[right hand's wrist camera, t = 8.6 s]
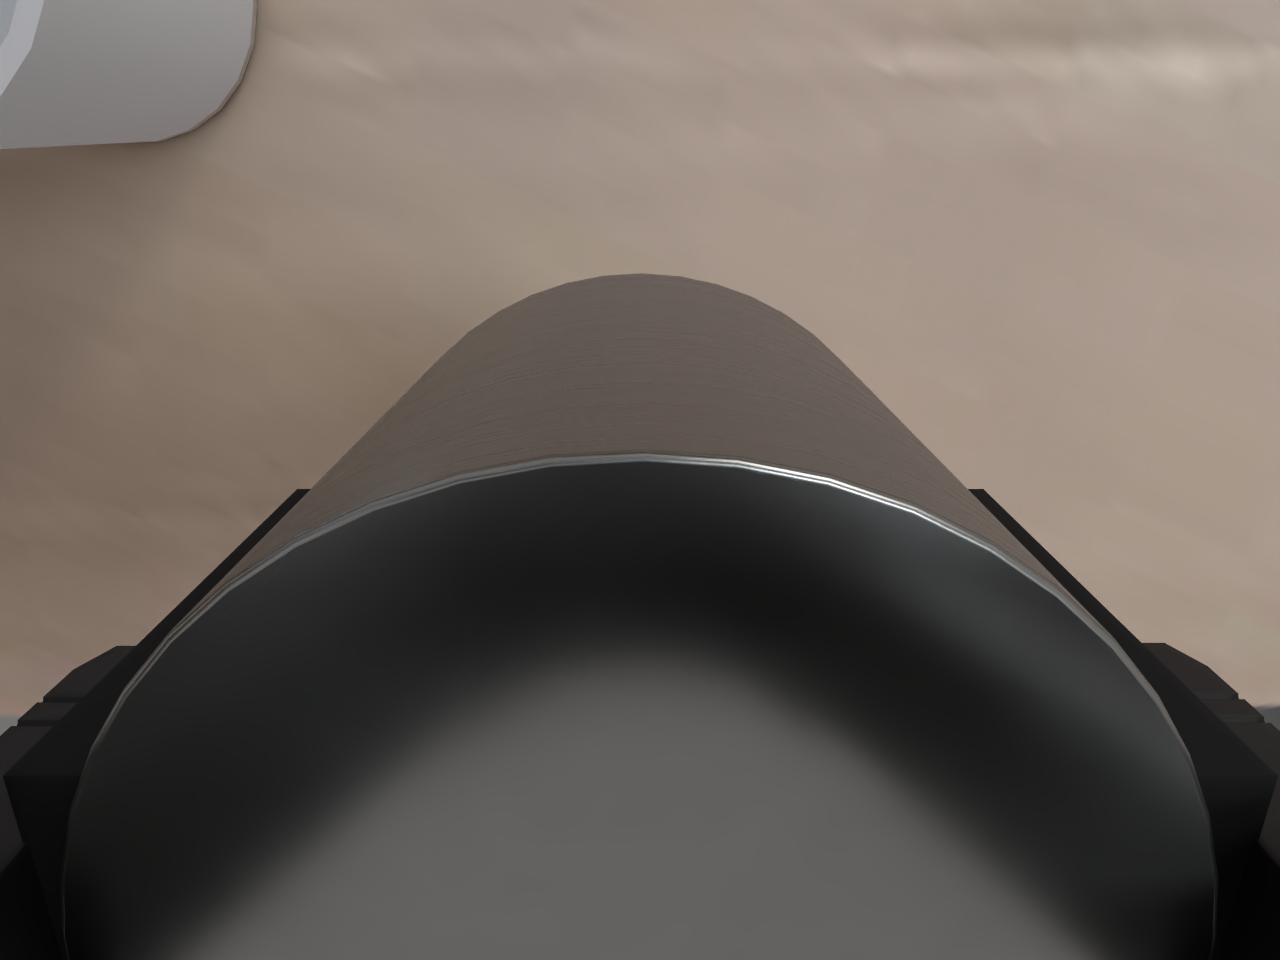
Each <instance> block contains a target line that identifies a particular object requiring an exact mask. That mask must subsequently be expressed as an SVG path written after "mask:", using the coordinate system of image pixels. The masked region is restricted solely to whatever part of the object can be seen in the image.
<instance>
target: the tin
mask: <svg viewBox="0 0 1280 960" xmlns="http://www.w3.org/2000/svg"><path fill="white" fill-rule="evenodd" d="M1218 882H1219V879H1218V871H1217V864H1216V856H1215V849H1214V842H1213V834H1212V827H1211V819H1210V815H1209V812H1208V809H1207V806H1206V803H1205V799H1204V796H1203V793H1202V790H1201V787H1200V784H1199V781H1198V778H1197V775H1196V772H1195V769H1194V766H1193V762H1192V759H1191V756H1190V754H1189V752H1188V750H1187V748H1186V746H1185V744H1184V742H1183V740H1182V739H1181V737H1180V735H1179V733H1178V731H1177V729H1176V727H1175V725H1174V724H1173V722H1172V720H1171V718H1170V716H1169V714H1168V712H1167V710H1166V709H1165V707H1164V705H1163V703H1162V701H1161V699H1160V697H1159V695H1158V694H1157V693H1156V691H1155V690H1154V689H1153V688H1152V686H1151V685H1150V684H1149V682H1148V681H1147V680H1146V679H1145V677H1144V676H1143V675H1142V673H1141V672H1140V671H1139V670H1138V668H1137V667H1136V666H1135V664H1134V663H1133V662H1132V660H1131V659H1130V658H1129V657H1128V655H1127V654H1126V653H1125V651H1124V650H1123V649H1122V648H1121V646H1120V645H1119V644H1118V642H1117V641H1116V640H1115V639H1114V638H1113V636H1112V635H1111V634H1110V633H1109V632H1108V631H1107V630H1106V629H1105V628H1104V627H1103V626H1102V625H1101V624H1100V623H1099V622H1098V621H1097V620H1096V619H1095V618H1094V617H1093V616H1092V615H1091V614H1090V613H1089V612H1088V611H1087V610H1086V609H1085V608H1084V607H1083V606H1082V605H1081V604H1080V603H1079V602H1078V601H1077V600H1076V599H1075V598H1074V597H1073V596H1072V595H1071V594H1070V593H1069V592H1068V591H1067V590H1066V589H1065V588H1064V587H1063V586H1062V585H1061V584H1060V583H1059V582H1058V581H1057V580H1056V579H1055V578H1054V576H1053V575H1052V574H1051V573H1050V572H1049V571H1048V570H1047V569H1046V568H1045V567H1044V566H1043V565H1042V564H1041V563H1040V562H1039V561H1038V560H1037V559H1036V558H1035V557H1034V556H1033V555H1032V554H1031V553H1030V552H1029V551H1028V550H1027V549H1026V548H1025V547H1024V546H1023V545H1022V544H1021V543H1020V542H1019V541H1018V540H1017V539H1016V538H1015V537H1014V536H1013V535H1012V534H1011V533H1010V532H1009V531H1008V530H1007V529H1006V528H1005V527H1004V526H1003V525H1002V524H1001V523H1000V522H999V521H998V520H997V519H996V517H995V516H994V515H993V514H992V513H991V512H990V511H989V510H988V509H987V508H986V507H985V506H984V505H983V504H982V503H981V502H980V501H979V500H978V499H977V498H976V497H975V496H974V495H973V494H972V493H971V492H970V491H969V490H968V489H967V488H966V487H965V486H964V485H963V484H962V483H961V482H960V481H959V480H958V479H957V478H956V477H955V476H954V475H953V474H952V473H951V472H950V471H949V470H948V469H947V468H946V467H945V466H944V465H943V464H942V463H941V462H940V461H939V460H938V459H937V457H936V456H935V455H934V454H933V453H932V452H931V451H930V450H929V449H928V448H927V447H926V446H925V445H924V444H923V443H922V442H921V441H920V440H919V439H918V438H917V437H916V436H915V435H914V434H913V433H912V432H911V431H910V430H909V429H908V428H907V427H906V426H905V425H904V424H903V423H902V422H901V421H900V420H899V419H898V418H897V417H896V416H895V415H894V414H893V413H892V412H891V411H890V410H889V409H888V408H887V407H886V406H885V405H884V404H883V403H882V402H881V401H880V400H879V398H878V397H877V396H876V395H875V394H874V393H873V392H872V391H871V390H870V389H869V388H868V387H867V386H866V385H865V384H864V383H863V382H862V381H861V380H860V379H859V378H858V377H857V376H856V375H855V374H854V373H853V372H852V371H851V370H850V369H849V368H848V367H847V366H846V365H845V364H844V363H843V362H842V361H841V360H840V359H839V358H838V357H837V356H836V355H835V354H834V353H833V352H832V351H831V350H830V349H829V348H827V347H826V346H825V345H824V344H823V343H822V342H821V341H820V340H819V339H818V338H817V337H816V336H815V335H814V334H812V333H811V332H809V331H808V330H807V329H805V328H804V327H802V326H801V325H800V324H798V323H797V322H795V321H794V320H793V319H791V318H790V317H788V316H787V315H785V314H784V313H782V312H780V311H778V310H776V309H774V308H772V307H771V306H769V305H767V304H765V303H763V302H761V301H759V300H757V299H755V298H753V297H751V296H748V295H746V294H743V293H740V292H737V291H734V290H731V289H729V288H726V287H723V286H720V285H717V284H713V283H709V282H704V281H699V280H694V279H690V278H685V277H680V276H668V275H655V274H626V275H609V276H600V277H595V278H590V279H585V280H580V281H575V282H570V283H566V284H563V285H560V286H557V287H554V288H551V289H548V290H545V291H542V292H539V293H536V294H533V295H531V296H529V297H527V298H525V299H523V300H521V301H519V302H517V303H515V304H513V305H511V306H509V307H507V308H505V309H503V310H501V311H499V312H497V313H496V314H494V315H493V316H491V317H490V318H488V319H487V320H485V321H484V322H483V323H481V324H480V325H478V326H477V327H475V328H474V329H472V330H471V331H469V332H468V333H467V334H466V335H465V336H464V337H463V338H462V339H461V340H459V341H458V342H457V343H456V344H455V345H454V346H453V347H452V348H451V349H450V350H449V351H447V352H446V353H445V354H444V355H443V356H442V357H441V358H440V359H439V360H438V361H437V362H436V363H435V364H434V365H433V366H432V367H431V368H430V369H429V370H428V371H427V372H426V373H425V374H424V375H423V376H422V377H421V378H420V379H419V380H418V381H417V382H416V383H415V384H414V385H413V386H412V387H411V388H410V389H409V390H408V391H407V392H406V393H405V394H404V395H403V396H402V397H401V398H400V399H399V400H398V402H397V403H396V404H395V405H394V406H393V407H392V408H391V409H390V410H389V411H388V412H387V413H386V414H385V415H384V416H383V417H382V418H381V419H380V420H379V421H378V422H377V423H376V424H375V425H374V426H373V427H372V428H371V429H370V430H369V431H368V432H367V433H366V434H365V435H364V436H363V437H362V438H361V439H360V440H359V441H358V442H357V443H356V444H355V445H354V446H353V447H352V448H351V449H350V450H349V451H348V452H347V453H346V454H345V455H344V456H343V457H342V458H341V459H340V460H339V461H338V462H337V463H336V464H335V465H334V466H333V467H332V468H331V469H330V470H329V471H328V472H327V473H326V474H325V475H324V476H323V477H322V478H321V479H320V480H319V481H318V482H317V483H316V484H315V485H314V486H313V487H312V488H311V489H310V490H309V492H308V493H307V494H306V495H305V496H304V497H303V498H302V499H301V500H300V501H299V502H298V503H297V504H296V505H295V506H294V507H293V508H292V509H291V510H290V511H289V512H288V513H287V514H286V515H285V516H284V517H283V518H282V519H281V520H280V521H279V522H278V523H277V524H276V525H275V526H274V527H273V528H272V529H271V530H270V531H269V532H268V533H267V534H266V535H265V536H264V537H263V538H262V539H261V540H260V541H259V542H258V543H257V544H256V545H255V546H254V547H253V548H252V549H251V550H250V551H249V552H248V553H247V554H246V555H245V556H244V557H243V558H242V559H241V560H240V561H239V562H238V563H237V564H236V565H235V566H234V567H233V568H232V569H231V570H230V571H229V572H228V573H227V574H226V575H225V576H224V577H223V578H222V579H221V580H220V582H219V583H218V584H217V585H216V586H215V587H214V588H213V589H212V590H211V591H210V592H209V593H208V594H207V595H206V596H205V597H204V598H203V599H202V600H201V601H200V602H199V603H198V604H197V605H196V606H195V607H194V608H193V609H192V610H191V611H190V612H189V613H188V614H187V615H186V616H185V617H184V618H183V619H182V620H181V621H180V622H179V623H178V624H177V625H176V626H175V627H174V628H173V629H172V630H171V631H170V632H169V633H168V634H167V636H166V637H165V638H164V639H163V641H162V642H161V643H160V644H159V646H158V647H157V648H156V649H155V651H154V652H153V653H152V654H151V656H150V657H149V658H148V659H147V661H146V662H145V663H144V664H143V666H142V667H141V668H140V669H139V671H138V672H137V673H136V674H135V676H134V677H133V678H132V679H131V681H130V682H129V683H128V684H127V686H126V687H125V688H124V690H123V691H122V693H121V695H120V697H119V699H118V700H117V702H116V704H115V706H114V707H113V709H112V711H111V713H110V715H109V716H108V718H107V720H106V722H105V724H104V725H103V727H102V729H101V731H100V733H99V734H98V736H97V738H96V740H95V742H94V743H93V745H92V747H91V750H90V752H89V755H88V758H87V761H86V764H85V767H84V770H83V773H82V776H81V779H80V781H79V784H78V787H77V790H76V793H75V796H74V799H73V802H72V805H71V808H70V812H69V818H68V824H67V831H66V837H65V844H64V850H63V857H62V863H61V870H60V892H61V931H62V936H63V941H64V946H65V951H66V956H67V960H1211V959H1212V954H1213V950H1214V945H1215V941H1216V928H1217V905H1218Z"/></svg>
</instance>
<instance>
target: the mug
mask: <svg viewBox="0 0 1280 960" xmlns="http://www.w3.org/2000/svg"><path fill="white" fill-rule="evenodd" d="M256 17H257V0H0V149H16V148H35V147H54V146H74V145H93V144H112V143H131V142H154V141H164V140H166V139H169V138H172V137H175V136H178V135H181V134H184V133H187V132H190V131H193V130H195V129H196V128H197V127H199V126H200V125H201V124H203V123H204V122H205V121H207V120H208V119H209V118H211V117H212V116H213V115H215V114H216V113H217V112H219V111H220V110H221V109H222V108H223V106H224V105H225V104H226V102H227V101H228V100H229V98H230V97H231V95H232V94H233V93H234V91H235V90H236V88H237V87H238V86H239V84H240V83H241V81H242V79H243V76H244V73H245V70H246V68H247V65H248V62H249V59H250V56H251V53H252V50H253V48H254V42H255V29H256Z"/></svg>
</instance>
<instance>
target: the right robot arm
mask: <svg viewBox="0 0 1280 960" xmlns="http://www.w3.org/2000/svg"><path fill="white" fill-rule="evenodd" d="M309 490H310V489H297V490H296V491H295V492H294V493H293V494H292V495H291V496H290V497H289V498H288V499H287V500H286V501H285V502H284V503H283V504H282V505H281V506H280V507H278V508H277V509H276V510H275V511H274V512H273V513H272V514H271V515H270V516H269V517H268V518H267V519H266V520H265V521H264V522H263V523H262V524H261V525H260V526H259V527H258V528H257V529H256V530H255V531H254V532H253V533H252V534H251V535H250V536H249V537H248V538H247V539H246V540H245V541H244V542H242V543H241V544H240V545H239V546H238V547H237V548H236V549H235V550H234V551H233V552H232V553H231V554H230V555H229V556H228V557H227V558H226V559H225V560H224V561H223V562H222V563H221V564H220V565H219V566H218V567H217V568H216V569H215V570H214V571H213V572H212V573H211V574H210V575H209V576H208V577H206V578H205V579H204V580H203V581H202V582H201V583H200V584H199V585H198V586H197V587H196V588H195V589H194V590H193V591H192V592H191V593H190V594H189V595H188V596H187V597H186V598H185V599H184V600H183V601H182V602H181V603H180V604H179V605H178V606H177V607H176V608H175V609H174V610H173V611H172V612H170V613H169V614H168V615H167V616H166V617H165V618H164V619H163V620H162V621H161V622H160V623H159V624H158V625H157V626H156V627H155V628H154V629H153V630H152V631H151V632H150V633H149V634H148V635H147V636H146V637H145V638H144V639H143V640H142V641H141V642H140V643H139V644H138V645H137V646H116V647H114V648H112V649H110V650H109V651H107V652H105V653H103V654H101V655H99V656H98V657H96V658H94V659H92V660H90V661H88V662H87V663H85V664H83V665H81V666H79V667H77V668H75V669H74V670H73V671H71V672H70V673H69V674H68V675H67V676H66V677H65V678H64V679H63V680H62V681H60V682H59V683H58V684H57V685H56V686H55V687H54V688H53V689H52V690H51V691H49V692H48V693H47V694H46V695H45V696H44V697H43V702H42V703H36V704H35V705H34V706H33V707H32V708H31V709H30V710H28V711H27V712H26V713H25V714H24V715H23V716H22V717H21V718H20V719H19V720H18V724H17V726H11V727H10V728H9V729H8V730H6V731H5V732H4V733H3V734H2V735H1V736H0V960H67V956H66V951H65V946H64V941H63V936H62V931H61V892H60V870H61V863H62V857H63V850H64V844H65V837H66V831H67V824H68V818H69V812H70V808H71V805H72V802H73V799H74V796H75V793H76V790H77V787H78V784H79V781H80V779H81V776H82V773H83V770H84V767H85V764H86V761H87V758H88V755H89V752H90V750H91V747H92V745H93V743H94V742H95V740H96V738H97V736H98V734H99V733H100V731H101V729H102V727H103V725H104V724H105V722H106V720H107V718H108V716H109V715H110V713H111V711H112V709H113V707H114V706H115V704H116V702H117V700H118V699H119V697H120V695H121V693H122V691H123V690H124V688H125V687H126V686H127V684H128V683H129V682H130V681H131V679H132V678H133V677H134V676H135V674H136V673H137V672H138V671H139V669H140V668H141V667H142V666H143V664H144V663H145V662H146V661H147V659H148V658H149V657H150V656H151V654H152V653H153V652H154V651H155V649H156V648H157V647H158V646H159V644H160V643H161V642H162V641H163V639H164V638H165V637H166V636H167V634H168V633H169V632H170V631H171V630H172V629H173V628H174V627H175V626H176V625H177V624H178V623H179V622H180V621H181V620H182V619H183V618H184V617H185V616H186V615H187V614H188V613H189V612H190V611H191V610H192V609H193V608H194V607H195V606H196V605H197V604H198V603H199V602H200V601H201V600H202V599H203V598H204V597H205V596H206V595H207V594H208V593H209V592H210V591H211V590H212V589H213V588H214V587H215V586H216V585H217V584H218V583H219V582H220V580H221V579H222V578H223V577H224V576H225V575H226V574H227V573H228V572H229V571H230V570H231V569H232V568H233V567H234V566H235V565H236V564H237V563H238V562H239V561H240V560H241V559H242V558H243V557H244V556H245V555H246V554H247V553H248V552H249V551H250V550H251V549H252V548H253V547H254V546H255V545H256V544H257V543H258V542H259V541H260V540H261V539H262V538H263V537H264V536H265V535H266V534H267V533H268V532H269V531H270V530H271V529H272V528H273V527H274V526H275V525H276V524H277V523H278V522H279V521H280V520H281V519H282V518H283V517H284V516H285V515H286V514H287V513H288V512H289V511H290V510H291V509H292V508H293V507H294V506H295V505H296V504H297V503H298V502H299V501H300V500H301V499H302V498H303V497H304V496H305V495H306V494H307V493H308V492H309ZM968 490H969V491H970V492H971V493H972V494H973V495H974V496H975V497H976V498H977V499H978V500H979V501H980V502H981V503H982V504H983V505H984V506H985V507H986V508H987V509H988V510H989V511H990V512H991V513H992V514H993V515H994V516H995V517H996V519H997V520H998V521H999V522H1000V523H1001V524H1002V525H1003V526H1004V527H1005V528H1006V529H1007V530H1008V531H1009V532H1010V533H1011V534H1012V535H1013V536H1014V537H1015V538H1016V539H1017V540H1018V541H1019V542H1020V543H1021V544H1022V545H1023V546H1024V547H1025V548H1026V549H1027V550H1028V551H1029V552H1030V553H1031V554H1032V555H1033V556H1034V557H1035V558H1036V559H1037V560H1038V561H1039V562H1040V563H1041V564H1042V565H1043V566H1044V567H1045V568H1046V569H1047V570H1048V571H1049V572H1050V573H1051V574H1052V575H1053V576H1054V578H1055V579H1056V580H1057V581H1058V582H1059V583H1060V584H1061V585H1062V586H1063V587H1064V588H1065V589H1066V590H1067V591H1068V592H1069V593H1070V594H1071V595H1072V596H1073V597H1074V598H1075V599H1076V600H1077V601H1078V602H1079V603H1080V604H1081V605H1082V606H1083V607H1084V608H1085V609H1086V610H1087V611H1088V612H1089V613H1090V614H1091V615H1092V616H1093V617H1094V618H1095V619H1096V620H1097V621H1098V622H1099V623H1100V624H1101V625H1102V626H1103V627H1104V628H1105V629H1106V630H1107V631H1108V632H1109V633H1110V634H1111V635H1112V636H1113V638H1114V639H1115V640H1116V641H1117V642H1118V644H1119V645H1120V646H1121V648H1122V649H1123V650H1124V651H1125V653H1126V654H1127V655H1128V657H1129V658H1130V659H1131V660H1132V662H1133V663H1134V664H1135V666H1136V667H1137V668H1138V670H1139V671H1140V672H1141V673H1142V675H1143V676H1144V677H1145V679H1146V680H1147V681H1148V682H1149V684H1150V685H1151V686H1152V688H1153V689H1154V690H1155V691H1156V693H1157V694H1158V695H1159V697H1160V699H1161V701H1162V703H1163V705H1164V707H1165V709H1166V710H1167V712H1168V714H1169V716H1170V718H1171V720H1172V722H1173V724H1174V725H1175V727H1176V729H1177V731H1178V733H1179V735H1180V737H1181V739H1182V740H1183V742H1184V744H1185V746H1186V748H1187V750H1188V752H1189V754H1190V756H1191V759H1192V762H1193V766H1194V769H1195V772H1196V775H1197V778H1198V781H1199V784H1200V787H1201V790H1202V793H1203V796H1204V799H1205V803H1206V806H1207V809H1208V812H1209V815H1210V819H1211V827H1212V834H1213V842H1214V849H1215V856H1216V864H1217V871H1218V879H1219V882H1218V905H1217V928H1216V941H1215V945H1214V950H1213V954H1212V959H1211V960H1280V731H1279V730H1278V729H1277V728H1276V727H1275V726H1273V725H1272V724H1271V723H1265V722H1264V717H1263V716H1262V715H1261V714H1260V713H1259V712H1258V711H1257V710H1256V709H1255V708H1253V707H1252V706H1251V705H1250V704H1249V703H1248V702H1247V701H1246V700H1245V699H1239V697H1238V693H1237V692H1236V691H1235V690H1233V689H1232V688H1231V687H1230V686H1229V685H1228V684H1227V683H1226V682H1225V681H1223V680H1222V679H1221V678H1220V677H1219V676H1218V675H1217V674H1216V673H1215V672H1213V671H1212V670H1211V669H1210V668H1209V667H1208V666H1206V665H1204V664H1202V663H1201V662H1199V661H1197V660H1195V659H1193V658H1191V657H1189V656H1188V655H1186V654H1184V653H1182V652H1180V651H1178V650H1177V649H1175V648H1173V647H1171V646H1169V645H1167V644H1165V643H1141V642H1140V641H1139V640H1138V639H1137V638H1136V637H1135V636H1134V635H1133V634H1132V633H1131V632H1130V631H1129V630H1128V629H1127V628H1126V627H1125V626H1124V625H1123V624H1121V623H1120V622H1119V621H1118V620H1117V619H1116V618H1115V617H1114V616H1113V615H1112V614H1111V613H1110V612H1109V611H1108V610H1107V609H1106V608H1105V607H1104V606H1103V605H1102V604H1101V603H1100V602H1099V601H1098V600H1097V599H1096V598H1095V597H1094V596H1093V595H1092V594H1091V593H1090V592H1089V591H1088V590H1086V589H1085V588H1084V587H1083V586H1082V585H1081V584H1080V583H1079V582H1078V581H1077V580H1076V579H1075V578H1074V577H1073V576H1072V575H1071V574H1070V573H1069V572H1068V571H1067V570H1066V569H1065V568H1064V567H1063V566H1062V565H1061V564H1060V563H1059V562H1058V561H1057V560H1056V559H1055V558H1054V557H1053V556H1052V555H1050V554H1049V553H1048V552H1047V551H1046V550H1045V549H1044V548H1043V547H1042V546H1041V545H1040V544H1039V543H1038V542H1037V541H1036V540H1035V539H1034V538H1033V537H1032V536H1031V535H1030V534H1029V533H1028V532H1027V531H1026V530H1025V529H1024V528H1023V527H1022V526H1021V525H1020V524H1019V523H1018V522H1017V521H1016V520H1014V519H1013V518H1012V517H1011V516H1010V515H1009V514H1008V513H1007V512H1006V511H1005V510H1004V509H1003V508H1002V507H1001V506H1000V505H999V504H998V503H997V502H996V501H995V500H994V499H993V498H992V497H991V496H990V495H989V494H988V493H987V492H986V491H985V490H984V489H968Z"/></svg>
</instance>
